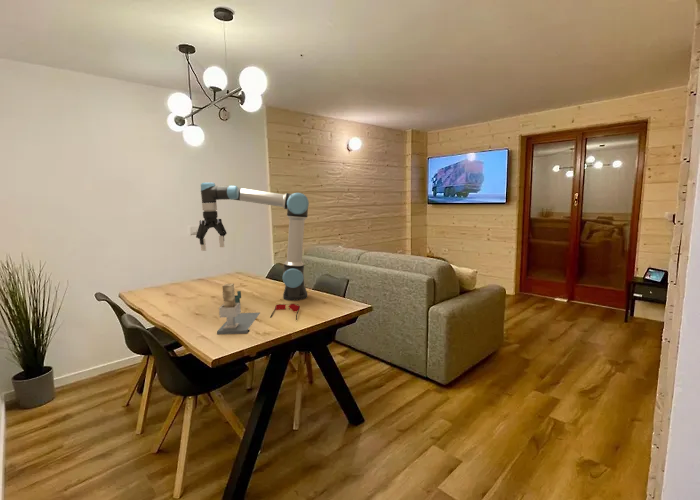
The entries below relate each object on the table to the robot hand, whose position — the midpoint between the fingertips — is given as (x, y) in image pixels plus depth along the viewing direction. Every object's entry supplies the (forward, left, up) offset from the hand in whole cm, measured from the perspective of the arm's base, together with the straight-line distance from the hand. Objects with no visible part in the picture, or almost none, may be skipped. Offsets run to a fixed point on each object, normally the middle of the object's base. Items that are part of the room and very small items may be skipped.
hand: (213, 248), depth 201 cm
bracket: (-7, -5, -35) cm, 36 cm away
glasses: (-42, +18, -35) cm, 58 cm away
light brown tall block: (-19, +35, -27) cm, 48 cm away
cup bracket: (-19, +35, -33) cm, 52 cm away
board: (-21, +28, -35) cm, 49 cm away
